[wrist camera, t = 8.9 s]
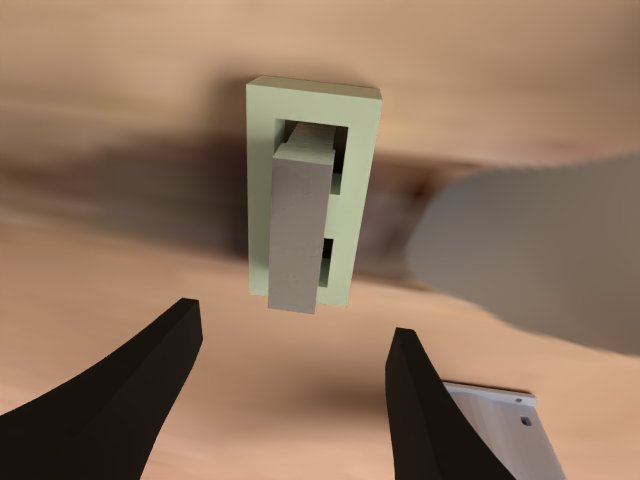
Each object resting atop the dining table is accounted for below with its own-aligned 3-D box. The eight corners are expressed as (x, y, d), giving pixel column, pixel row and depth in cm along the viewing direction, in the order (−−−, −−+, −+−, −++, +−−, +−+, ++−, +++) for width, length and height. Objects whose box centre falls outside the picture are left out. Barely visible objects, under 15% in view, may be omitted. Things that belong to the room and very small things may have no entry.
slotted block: (379, 88, 18) (382, 100, 15) (347, 276, 24) (346, 306, 22) (261, 75, 18) (246, 84, 16) (260, 265, 24) (249, 294, 22)
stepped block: (339, 127, 19) (332, 165, 14) (323, 250, 23) (313, 314, 18) (295, 121, 19) (272, 157, 14) (287, 245, 23) (267, 308, 18)
